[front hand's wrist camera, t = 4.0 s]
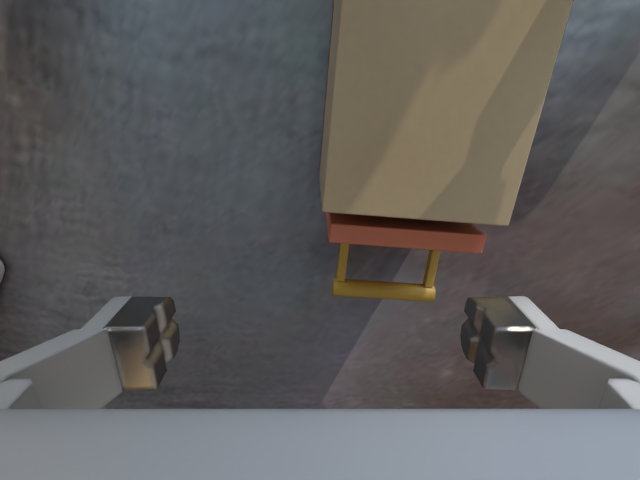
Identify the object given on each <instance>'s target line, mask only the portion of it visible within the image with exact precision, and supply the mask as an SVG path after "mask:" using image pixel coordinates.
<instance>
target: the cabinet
mask: <svg viewBox="0 0 640 480" xmlns="http://www.w3.org/2000/svg"><path fill="white" fill-rule="evenodd" d="M572 4H573V0H334V2H333V13H332V25H331V37H330V49H329V61H328V72H327V84H326V96H325V108H324V120H323V132H322V143H321V155H320V167H319V179H320V191H321V204H322V211H323V212H327V213H341V214H354V215H367V216H380V217H393V218H406V219H420V220H433V221H446V222H459V223H472V224H486V225H499V226H508V225H509V222H510V218H511V215H512V211H513V208H514V205H515V201H516V198H517V194H518V191H519V187H520V184H521V180H522V177H523V173H524V170H525V166H526V163H527V160H528V156H529V153H530V149H531V146H532V142H533V139H534V135H535V132H536V128H537V125H538V121H539V118H540V114H541V111H542V108H543V104H544V101H545V97H546V94H547V90H548V87H549V83H550V80H551V76H552V73H553V69H554V66H555V63H556V59H557V56H558V52H559V49H560V45H561V42H562V38H563V35H564V31H565V28H566V24H567V21H568V18H569V14H570V11H571V7H572Z"/></svg>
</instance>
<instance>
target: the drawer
mask: <svg viewBox="0 0 640 480" xmlns="http://www.w3.org/2000/svg"><path fill="white" fill-rule="evenodd" d="M326 220H327V229H328V238H329V242H330V243H340V248H339V257H338V266H337V275H336V278H334V279H333V282H332V295H333V296H349V297H364V298H380V299H395V300H410V301H426V302H433V301H434V299H435V287H434V286H433V283H434V279H435V274H436V270H437V265H438V261H439V256H440V252H441V251H454V252H468V253H482V251H483V247H484V243H485V239H486V235H485V234H484V233H483V232H482V231H481V230H479V229H478V228H477V227H476V226H475V225H473V224H472V223H459V222H446V221H433V220H420V219H406V218H393V217H380V216H367V215H354V214H341V213H327V212H326ZM349 244H357V245H371V246H385V247H398V248H412V249H426V250H430V252H429V256H428V261H427V266H426V270H425V275H424V280H423V284H411V283H396V282H381V281H366V280H352V279H345V276H346V268H347V260H348V252H349Z"/></svg>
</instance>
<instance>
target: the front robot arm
mask: <svg viewBox="0 0 640 480" xmlns="http://www.w3.org/2000/svg"><path fill="white" fill-rule="evenodd" d="M4 272H5V267H4V264H3V262H2V261H1V260H0V284H1V281H2V278H3V275H4ZM175 312H176V309H175V305H174V301H173V299H172V298H171V297H134V296H118V297H113V298H112V299H111V300H110V301H108V302H107V303H106V304H105V305H104V306H103V307H102V308H101V309H100V310H99V311H98V312H97V313H96V314H95V315H94V316H93V317H92V318H91V319H90V320H89V321H88V322H87V323H86V324H85V325H84V326H83V327H82V328H81V329H74V330H72V331H69V332H67V333H65V334H62V335H60V336H58V337H55V338H53V339H51V340H48V341H46V342H44V343H41V344H39V345H37V346H35V347H32V348H30V349H28V350H25V351H23V352H21V353H18V354H16V355H14V356H11V357H9V358H7V359H4V360H2V361H0V480H640V361H638V360H635V359H633V358H631V357H628V356H626V355H624V354H622V353H619V352H617V351H615V350H612V349H610V348H608V347H605V346H603V345H601V344H598V343H596V342H594V341H592V340H589V339H587V338H585V337H582V336H580V335H578V334H575V333H573V332H571V331H568V330H566V329H559V328H558V327H557V326H556V325H555V324H554V323H553V322H552V321H551V320H550V319H549V318H548V317H547V316H546V315H545V314H544V313H543V312H542V311H541V310H540V309H539V308H538V307H537V306H536V305H535V304H534V303H533V302H532V301H531V300H530V299H529V298H527V297H524V296H512V297H472V298H468V299H467V301H466V304H465V309H464V312H465V313H466V315H467V316H468V319H467V320H466V321H465V322H464V323H463V324H462V327H461V335H460V336H461V346H462V349H463V353H464V354H465V356H466V358H467V359H468V360H469V361H471V362H472V363H474V369H473V371H474V373H475V375H476V377H477V378H478V380H479V382H480V384H481V385H482V387H483V389H497V390H517V392H518V393H520V394H521V395H522V396H524V397H525V398H526V399H527V400H529V401H530V402H531V403H533V404H534V405H535V406H537V407H538V408H539V409H101V408H102V407H104V406H105V405H106V404H107V403H109V402H110V401H111V400H113V399H114V398H115V397H117V396H118V395H119V394H120V393H122V392H123V390H142V389H157V387H158V386H159V384H160V382H161V380H162V378H163V377H164V375H165V373H166V371H167V369H166V363H168V362H169V361H171V360H172V359H173V358H174V356H175V354H176V352H177V349H178V345H179V327H178V324H177V323H176V322H175V321H174V320H173V319H172V316H173V315H174V313H175Z"/></svg>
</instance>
